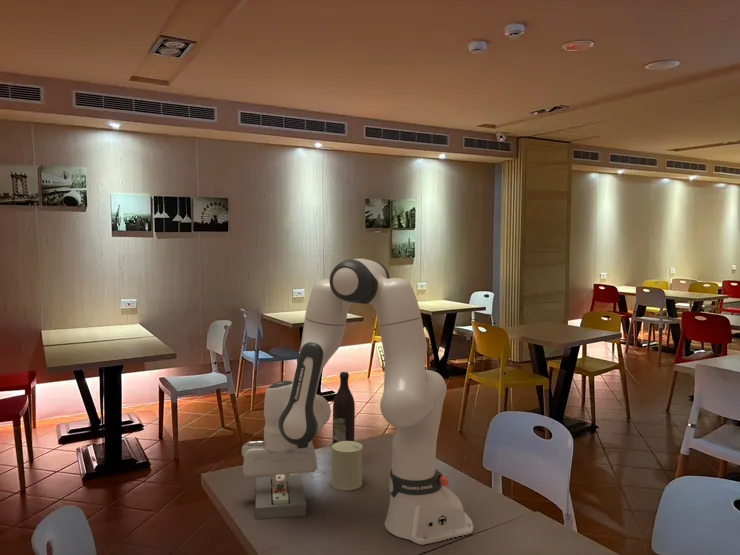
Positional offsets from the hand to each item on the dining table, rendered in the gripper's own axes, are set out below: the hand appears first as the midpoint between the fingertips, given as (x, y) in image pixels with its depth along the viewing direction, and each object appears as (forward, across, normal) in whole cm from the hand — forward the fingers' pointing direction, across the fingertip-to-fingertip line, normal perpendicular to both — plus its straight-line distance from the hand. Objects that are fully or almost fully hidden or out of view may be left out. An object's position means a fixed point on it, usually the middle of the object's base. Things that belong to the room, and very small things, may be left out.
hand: (280, 488), depth 157 cm
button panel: (+4, 0, 0) cm, 4 cm away
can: (+4, +20, +8) cm, 22 cm away
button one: (+2, 0, +6) cm, 7 cm away
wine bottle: (+4, +21, +23) cm, 31 cm away
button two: (+2, 0, -6) cm, 6 cm away
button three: (+3, 0, 0) cm, 3 cm away
